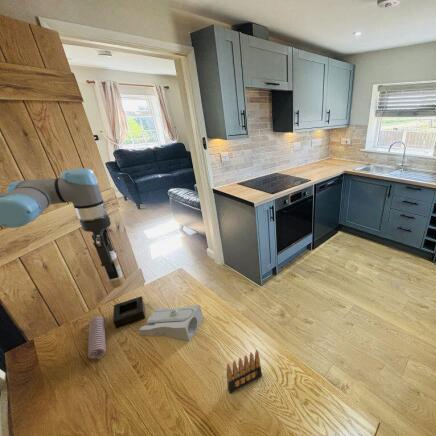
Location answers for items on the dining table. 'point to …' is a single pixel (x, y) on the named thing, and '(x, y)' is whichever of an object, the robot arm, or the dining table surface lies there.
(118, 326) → the bottle holder
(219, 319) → the dining table surface
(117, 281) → the sprinkles bottle
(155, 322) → the wedge sharpener
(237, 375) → the ammunition clip
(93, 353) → the coil
